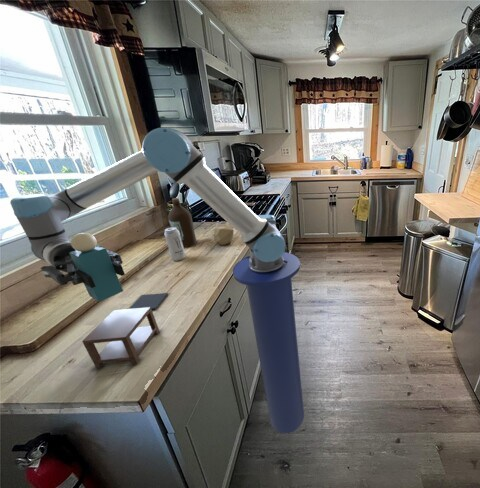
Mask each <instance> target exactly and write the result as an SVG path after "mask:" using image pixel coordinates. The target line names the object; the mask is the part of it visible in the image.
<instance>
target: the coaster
mask: <svg viewBox="0 0 480 488" xmlns="http://www.w3.org/2000/svg"><path fill="white" fill-rule="evenodd" d="M168 295H169V294H168V292H164V293H151V294H141V295H140V296H139V297H138V298H137V300H136V301H134V303H132V305H131V306H130V307H129V308H128V309H133V308H145V307H151V309H152V311H155V310H157V309H158V308H159V306H160V305H161V304H162V302H164V300H165V299H166V298H167V296H168Z"/></svg>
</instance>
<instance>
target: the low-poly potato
mask: <svg viewBox="0 0 480 488" xmlns="http://www.w3.org/2000/svg"><path fill="white" fill-rule="evenodd" d="M234 234H235V233H234V229H233V228H232V226H228V225H225V224H224V225H222V226H219V227H215V229H214V232H213V234H212V237H213V238H214V241H215V242H216V243H218V244H219V245H221V246H225V245H228V244H231V242H232V240H233V238H234V236H235V235H234Z"/></svg>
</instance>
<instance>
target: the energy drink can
mask: <svg viewBox="0 0 480 488" xmlns="http://www.w3.org/2000/svg"><path fill="white" fill-rule="evenodd" d="M163 234H164V238H165V241H166V245H167V248H168V251H169V255H170V258H171V259H172V260H173V261H175V262H177V261H178V262H179V261H182V260H184V259H185V257H186V251H185V247H183V244H182V240H181V237H180V233H179V231H178V230H177V228H176V227H171V226H170V227H167V228H165V229H164V233H163Z"/></svg>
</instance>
